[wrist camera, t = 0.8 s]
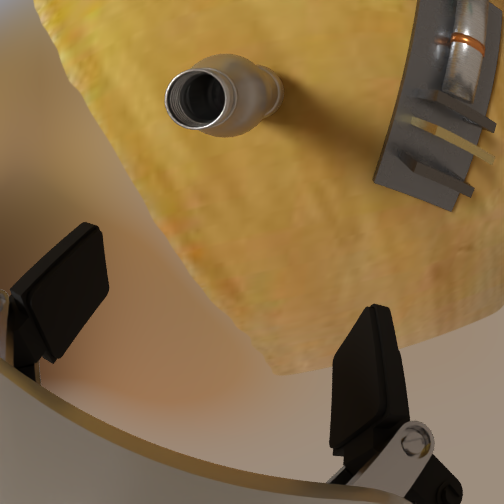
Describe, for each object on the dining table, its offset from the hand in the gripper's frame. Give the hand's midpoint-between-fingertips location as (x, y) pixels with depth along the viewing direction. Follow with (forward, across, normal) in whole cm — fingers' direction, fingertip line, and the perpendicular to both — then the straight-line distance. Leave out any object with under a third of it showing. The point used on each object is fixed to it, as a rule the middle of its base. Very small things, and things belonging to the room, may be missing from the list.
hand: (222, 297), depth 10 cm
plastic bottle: (+29, +5, -4) cm, 29 cm away
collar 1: (+27, -17, -11) cm, 34 cm away
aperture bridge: (+27, -17, -7) cm, 33 cm away
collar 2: (+27, -17, -3) cm, 32 cm away
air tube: (+27, -17, -20) cm, 38 cm away
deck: (+28, -17, -14) cm, 36 cm away
